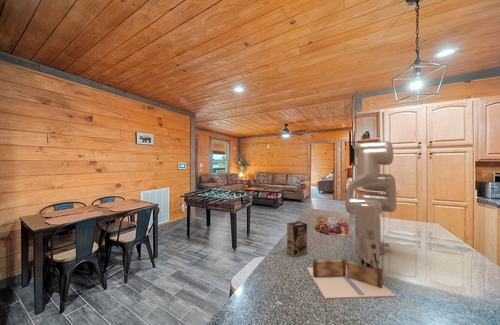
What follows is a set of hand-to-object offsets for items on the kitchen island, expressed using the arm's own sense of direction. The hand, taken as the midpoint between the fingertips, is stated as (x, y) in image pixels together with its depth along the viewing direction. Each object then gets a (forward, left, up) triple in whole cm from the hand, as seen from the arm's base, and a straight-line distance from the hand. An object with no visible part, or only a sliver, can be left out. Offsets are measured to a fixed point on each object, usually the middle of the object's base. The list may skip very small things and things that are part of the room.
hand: (366, 275), depth 79 cm
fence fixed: (+15, -2, -1) cm, 15 cm away
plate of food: (-14, -59, -2) cm, 60 cm away
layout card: (+9, +1, -1) cm, 9 cm away
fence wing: (+3, +2, -1) cm, 4 cm away
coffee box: (+22, -24, -2) cm, 33 cm away
